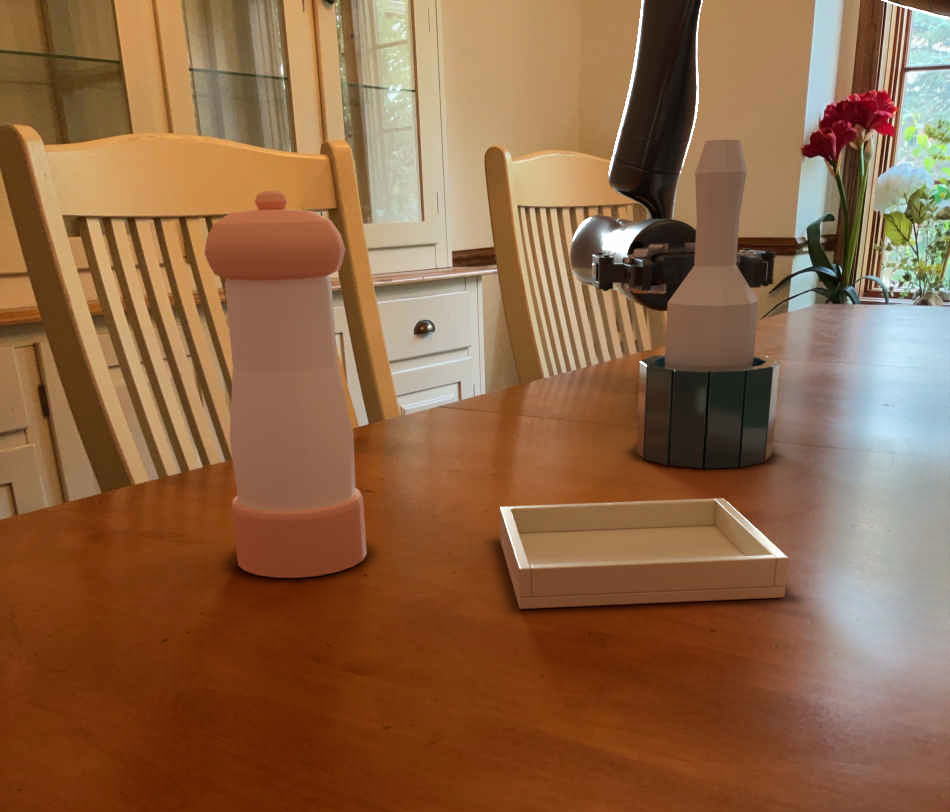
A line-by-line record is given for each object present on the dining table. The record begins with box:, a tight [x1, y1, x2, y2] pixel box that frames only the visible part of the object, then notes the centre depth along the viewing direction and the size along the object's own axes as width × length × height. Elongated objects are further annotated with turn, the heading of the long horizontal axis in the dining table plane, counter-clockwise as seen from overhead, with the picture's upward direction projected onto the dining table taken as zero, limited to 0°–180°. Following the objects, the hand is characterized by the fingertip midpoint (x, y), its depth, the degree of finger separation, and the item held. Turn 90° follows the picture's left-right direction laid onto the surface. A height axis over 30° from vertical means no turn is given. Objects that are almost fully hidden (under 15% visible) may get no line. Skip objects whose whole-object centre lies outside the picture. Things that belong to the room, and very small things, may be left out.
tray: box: [499, 497, 789, 610], centre depth 56 cm, size 13×11×2 cm
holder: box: [636, 354, 781, 470], centre depth 80 cm, size 10×10×7 cm
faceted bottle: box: [664, 139, 759, 370], centre depth 77 cm, size 6×6×22 cm
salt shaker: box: [204, 190, 368, 579], centre depth 56 cm, size 7×7×19 cm
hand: (703, 274), depth 79 cm, fingers open, 8 cm apart
